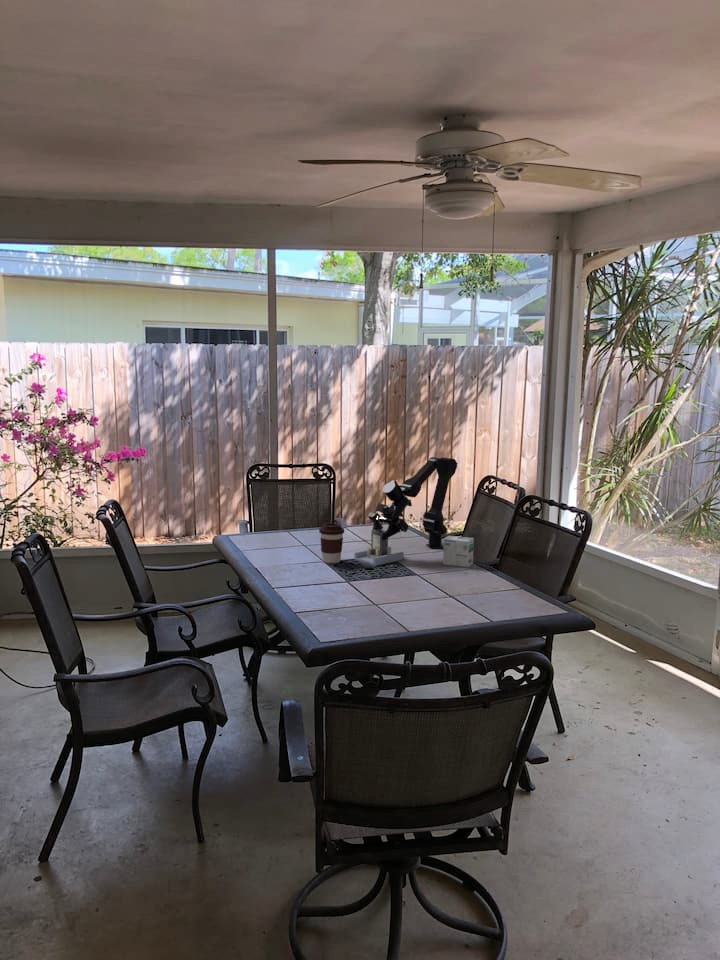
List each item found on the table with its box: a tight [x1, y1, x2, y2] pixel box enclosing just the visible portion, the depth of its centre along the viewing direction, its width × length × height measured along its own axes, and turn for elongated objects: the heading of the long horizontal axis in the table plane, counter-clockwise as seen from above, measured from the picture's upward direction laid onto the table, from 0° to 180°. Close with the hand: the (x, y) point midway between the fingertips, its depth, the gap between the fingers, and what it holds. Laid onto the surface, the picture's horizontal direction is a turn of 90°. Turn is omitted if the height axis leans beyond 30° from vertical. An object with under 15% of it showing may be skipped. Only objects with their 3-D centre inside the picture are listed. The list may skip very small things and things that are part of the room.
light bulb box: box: [442, 535, 475, 568], centre depth 302 cm, size 11×7×11 cm, turn 65°
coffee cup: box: [318, 522, 345, 564], centre depth 302 cm, size 10×10×15 cm
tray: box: [354, 546, 404, 567], centre depth 307 cm, size 16×12×5 cm
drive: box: [370, 529, 389, 557], centre depth 307 cm, size 4×6×10 cm, turn 43°
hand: (377, 538), depth 305 cm, fingers closed on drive, 6 cm apart
